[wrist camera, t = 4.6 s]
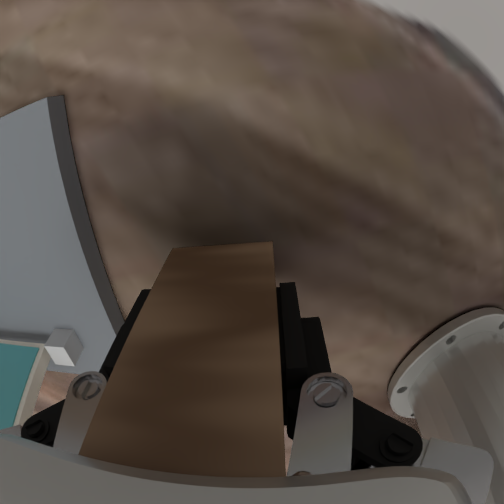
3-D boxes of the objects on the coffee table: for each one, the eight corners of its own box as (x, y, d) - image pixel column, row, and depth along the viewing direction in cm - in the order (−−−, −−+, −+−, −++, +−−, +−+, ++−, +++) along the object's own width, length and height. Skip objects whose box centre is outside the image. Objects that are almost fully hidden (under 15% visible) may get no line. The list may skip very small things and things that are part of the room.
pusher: (272, 241, 12) (287, 523, 3) (277, 321, 14) (286, 550, 5) (172, 248, 13) (65, 491, 4) (191, 324, 14) (140, 537, 5)
